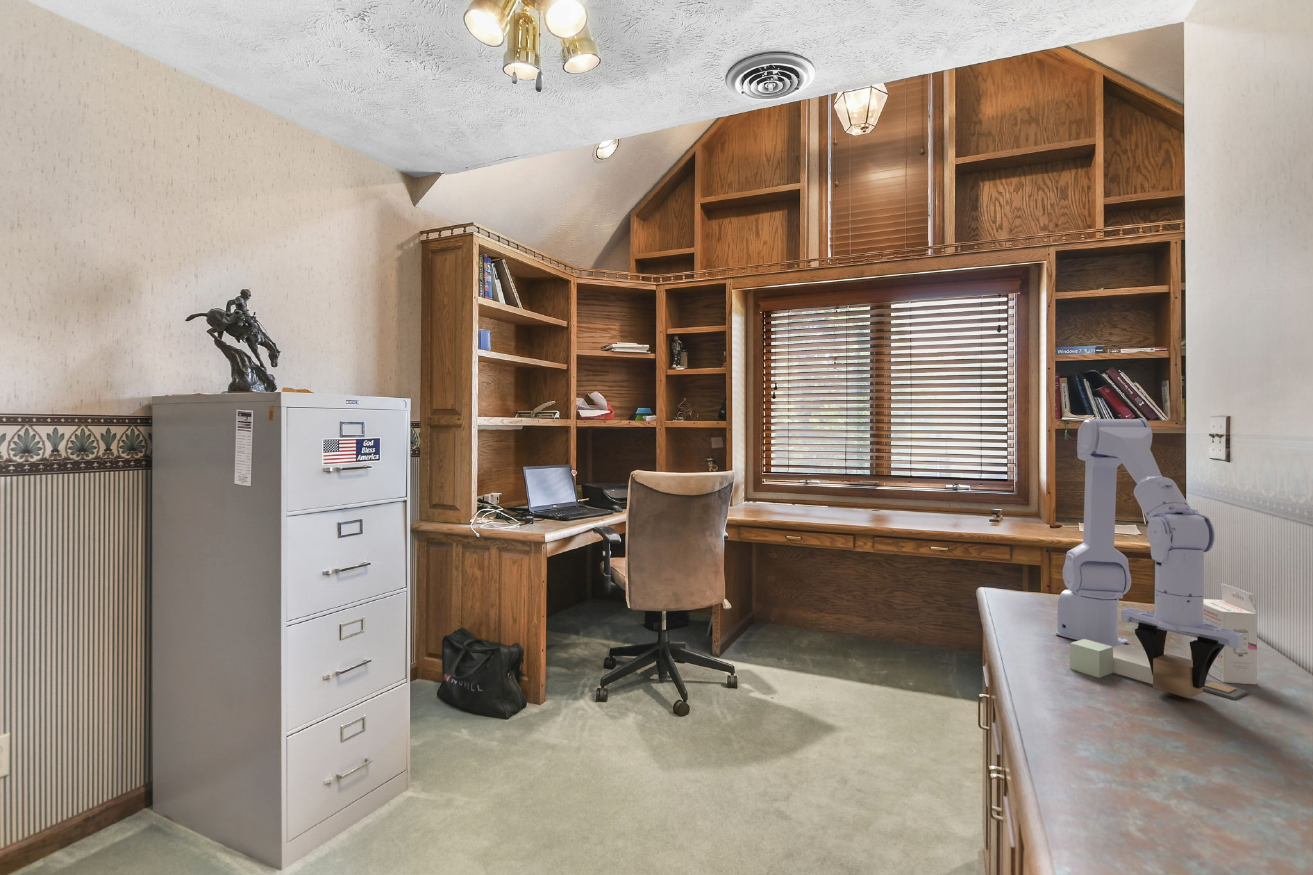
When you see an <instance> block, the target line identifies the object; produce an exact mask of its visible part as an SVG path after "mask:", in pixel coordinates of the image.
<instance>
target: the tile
mask: <svg viewBox="0 0 1313 875" xmlns="http://www.w3.org/2000/svg"><path fill="white" fill-rule="evenodd" d="M1203 692H1206V693H1210V694H1213V695H1216V696H1220V697H1224V698H1227V699H1230V700H1232V701H1233V700H1234V701H1235V700H1236V699H1238V698H1241V697H1242V696H1245V695H1247V694H1248V693H1249V692H1248V690H1247V689H1244V688H1243V689H1242V688H1239V687H1235V686H1232V685H1228V684H1225V683H1223V682H1217V681H1213V680H1210V679H1206V681H1205V686H1204V687H1203Z"/></svg>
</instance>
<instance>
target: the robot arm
mask: <svg viewBox="0 0 1313 875" xmlns="http://www.w3.org/2000/svg"><path fill="white" fill-rule="evenodd" d="M1152 429H1153V428H1152V427H1151V424H1150V423H1149V422H1148V421H1147V420H1146V419H1145V418H1130V419H1128V418H1124V419H1123V418H1120V419H1119V418H1116V419H1115V418H1113V419H1112V418H1104V419H1103V418H1091V417H1090V418H1085V419H1084V420H1083V422H1082V423H1081V424H1080V426H1079V427H1078V429H1077V441H1076V442H1077V444H1076V445H1077V447H1076V452H1077V459H1079V460H1081V461H1083V462H1085V466H1084V467H1085V470H1084V472H1085V473H1084V476H1085V477H1084V502H1083V503H1084V504H1083V505H1084V506H1083V535H1082V536H1083V539H1082V540H1083V542H1082V543H1080V544H1078V545H1076V546H1075V547H1073V548H1071V549H1070V550H1067V552H1066V554H1065V560H1064V564H1063V567H1062V579H1063V583H1064V586H1065V587H1066V588H1067V589H1064V590H1063V591H1061V592H1060V595H1059V597H1058V600H1057V630H1056V631H1055V635H1056V636H1060V637H1064V638H1068V639H1071V640H1075V641H1079V640H1082V639H1086V640H1090V641H1094V642H1097V643H1101V644H1105V645H1109V646H1112V647H1114V646H1117V645H1120V644H1127V643H1129V639H1127V638H1124V637H1119V619H1120V622H1123V623H1127V624H1128V623H1132V624H1137V628H1135V629H1134V635H1135V636H1136V638H1137V639H1138V641H1139V642H1140V644H1141V646H1142V648H1143V650H1145V652H1146V655H1147V657H1148V660H1149V664H1150V667H1151V671H1152V675H1153V659H1154V658H1156V657H1159V656H1162V655H1165V645H1166V640H1167V635H1168V632H1169V633H1175V634H1178V635H1183V636H1188V637H1190V638H1191V637H1195V638H1197V640H1194V641H1191V640H1190V641H1189V647H1190V654H1191V653H1192V661H1193V674H1192V682H1193V687H1194V688H1198V689H1199V688H1202V687H1204V686H1205V681H1206V680H1207V677H1208V675H1209V674H1208V672H1209V670H1210V667H1211V665H1212V664H1213V662H1214V660H1215V659H1216V657H1217V656H1218V654H1219V653H1220V651H1221V650H1222V649H1223V648H1224V646H1225V645H1228V646H1229V647H1232V648H1236V649H1238V648H1241V647H1243V633H1239V632H1235V631H1231V630H1227V629H1224V628H1220V627H1217V626H1214V625H1210V624H1207V623H1204V622H1203V605H1204V599H1205V598H1204V596H1205V595H1204V594H1205V590H1204V589H1205V553H1208V552H1209V551H1211V549H1212V548H1213V547H1214V544H1215V538H1216V537H1215V536H1216V535H1215V534H1216V533H1215V528H1214V525H1213V524H1212V521H1211V519H1210V518H1209V516H1208V515H1206V514H1204V513H1201V512H1199V511H1198V509H1193V508H1191V506H1190V505H1189V503H1188V502H1187V500H1186V498H1185V497H1184V495H1183V493H1182V492H1181V489H1179V487H1178V485H1177V483H1176V482H1175V481H1174V480H1173V479H1172V478H1169V477H1166V476H1162V473H1161V470H1160V467H1159V466H1158V464H1157V462H1156V459H1155V457H1154V455H1153V452H1152V451H1151V447H1152V443H1153V430H1152ZM1120 465H1123V466H1124V468H1125V469H1126V471H1127V472H1128V473H1129V475H1130V476H1131V478H1132V479H1133V480H1134V482H1135V484H1136V486H1134V489H1133V496H1134V497H1135V499H1136V501H1137V503H1138V505H1139V507H1140V509H1141V510H1142V513H1143V515H1144V517H1145V518H1146V520H1147V521H1148V523H1147V528H1146V536H1147V540H1148V543H1149V545H1150V546H1149V547H1150V556H1151V560H1153V561H1154V612H1151V611H1145V610H1139V609H1134V608H1128V607H1127V608H1123V609H1119V608H1120V607H1119V606H1120V603H1119V601H1120V599H1123V598H1124V595H1125V594H1127V593H1128V591H1129V590H1130V589H1131V587H1132V586H1131V585H1132V575H1131V571H1130V567H1129V559H1128V558H1127V556H1126V555H1125V554H1124V553H1122V552H1121V551H1120V550H1118V549H1117V548H1115V538H1116V537H1115V533H1116V532H1115V531H1116V530H1115V529H1116V528H1115V527H1116V506H1117V505H1116V501H1117V500H1116V499H1117V480H1118V478H1117V476H1118V475H1117V473H1118V467H1119V466H1120ZM1119 610H1120V613H1119ZM1119 614H1120V616H1119ZM1119 617H1120V618H1119Z"/></svg>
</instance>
